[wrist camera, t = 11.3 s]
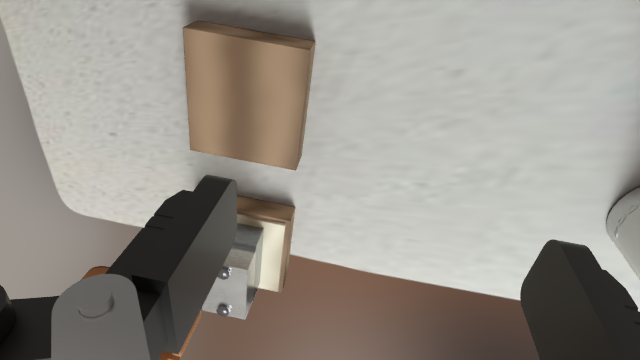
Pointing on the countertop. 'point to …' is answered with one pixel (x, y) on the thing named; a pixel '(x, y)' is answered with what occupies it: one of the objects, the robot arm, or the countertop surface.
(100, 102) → the countertop surface
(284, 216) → the stand
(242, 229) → the block
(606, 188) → the countertop surface
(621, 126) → the countertop surface
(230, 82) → the stand
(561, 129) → the countertop surface
